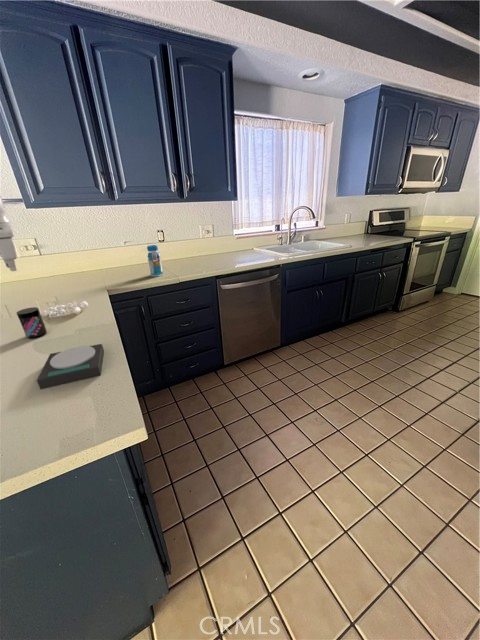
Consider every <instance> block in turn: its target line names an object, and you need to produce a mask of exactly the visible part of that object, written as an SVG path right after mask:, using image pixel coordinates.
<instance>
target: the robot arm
mask: <svg viewBox="0 0 480 640" xmlns="http://www.w3.org/2000/svg"><path fill="white" fill-rule="evenodd" d="M14 236H15V232H14V229H13V226H12V223H11V221H10V219H9V217H8V216H7V208H6V206H5V204H4V201H3V199H2V196H1V195H0V257H1V258H2V261H3V262H4V264H5V267H6V268H7V269H9V270H10V272H17V271H18V270H17V266H16V262H15V260H17V259H18V254H17V251H16V247H15V243H14Z"/></svg>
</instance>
